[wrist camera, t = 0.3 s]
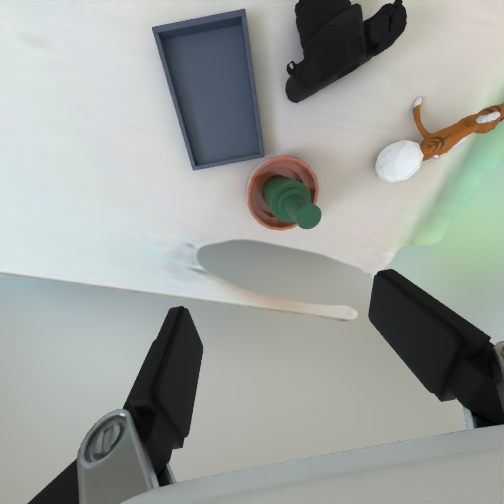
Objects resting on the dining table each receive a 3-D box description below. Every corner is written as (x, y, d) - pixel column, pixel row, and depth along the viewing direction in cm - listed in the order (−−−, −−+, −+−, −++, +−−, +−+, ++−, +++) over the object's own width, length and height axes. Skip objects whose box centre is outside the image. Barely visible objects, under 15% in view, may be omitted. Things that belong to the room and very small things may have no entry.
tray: (158, 37, 27) (151, 27, 24) (244, 20, 26) (245, 8, 24) (195, 169, 34) (192, 170, 32) (262, 156, 34) (264, 156, 32)
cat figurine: (399, 178, 28) (570, 97, 22) (364, 111, 29) (519, 16, 23) (375, 197, 40) (481, 147, 34) (351, 149, 41) (450, 93, 35)
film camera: (365, -28, 25) (425, -114, 17) (376, 61, 29) (429, 24, 21) (262, 38, 27) (273, -12, 19) (286, 112, 32) (304, 96, 23)
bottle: (259, 178, 35) (278, 194, 19) (291, 172, 35) (336, 183, 19) (264, 210, 38) (284, 246, 22) (293, 204, 38) (335, 237, 22)
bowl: (239, 163, 34) (240, 164, 29) (306, 150, 34) (318, 149, 29) (251, 226, 40) (253, 235, 35) (308, 215, 40) (318, 223, 35)
